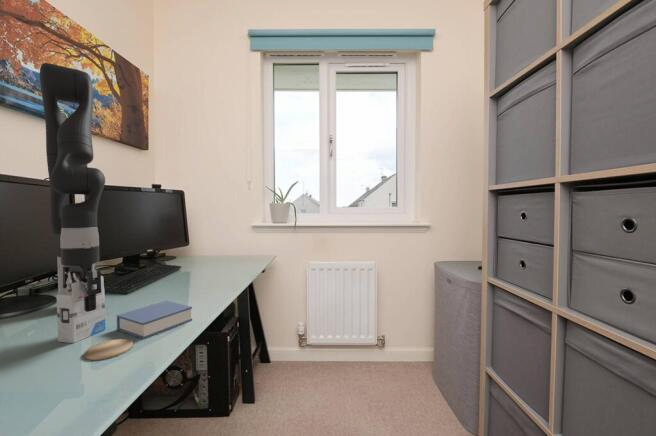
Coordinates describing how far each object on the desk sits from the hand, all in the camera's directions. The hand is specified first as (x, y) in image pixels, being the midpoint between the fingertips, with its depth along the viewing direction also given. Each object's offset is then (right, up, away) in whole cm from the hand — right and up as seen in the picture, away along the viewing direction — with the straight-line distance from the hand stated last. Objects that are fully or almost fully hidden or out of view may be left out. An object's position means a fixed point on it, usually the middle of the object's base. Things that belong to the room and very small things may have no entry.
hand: (82, 307), depth 75 cm
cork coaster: (+13, -7, -8) cm, 17 cm away
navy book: (+15, -7, +7) cm, 18 cm away
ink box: (0, -7, 0) cm, 7 cm away
